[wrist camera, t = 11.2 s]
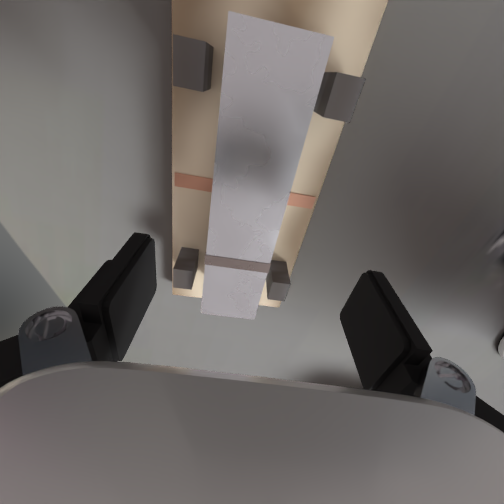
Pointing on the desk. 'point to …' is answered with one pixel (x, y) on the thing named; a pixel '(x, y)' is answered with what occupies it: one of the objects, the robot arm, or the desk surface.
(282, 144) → the light grey long block
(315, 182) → the board
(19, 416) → the robot arm
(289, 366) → the desk surface
